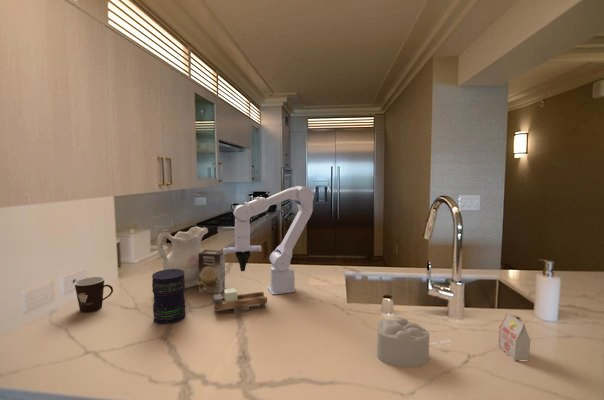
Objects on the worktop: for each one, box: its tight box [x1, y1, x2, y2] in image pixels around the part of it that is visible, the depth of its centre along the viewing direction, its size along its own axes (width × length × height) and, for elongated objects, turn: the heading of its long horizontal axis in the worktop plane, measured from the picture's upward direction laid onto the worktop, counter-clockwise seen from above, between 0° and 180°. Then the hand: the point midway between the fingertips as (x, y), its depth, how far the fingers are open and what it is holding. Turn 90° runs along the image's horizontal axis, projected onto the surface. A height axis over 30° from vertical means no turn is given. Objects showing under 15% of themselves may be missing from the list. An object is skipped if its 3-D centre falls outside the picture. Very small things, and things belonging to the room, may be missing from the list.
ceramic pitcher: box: [156, 226, 209, 289], centre depth 133 cm, size 22×20×25 cm
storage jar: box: [151, 269, 186, 326], centre depth 102 cm, size 10×10×15 cm
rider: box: [223, 287, 238, 302], centre depth 108 cm, size 4×4×4 cm
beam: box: [212, 291, 268, 314], centre depth 110 cm, size 18×6×5 cm, turn 111°
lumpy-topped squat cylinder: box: [376, 317, 430, 368], centre depth 83 cm, size 10×13×9 cm
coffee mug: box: [74, 276, 114, 314], centre depth 108 cm, size 12×9×10 cm
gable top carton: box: [497, 312, 531, 361], centre depth 84 cm, size 4×7×10 cm, turn 179°
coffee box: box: [198, 249, 226, 295], centre depth 126 cm, size 9×6×16 cm
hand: (242, 270), depth 121 cm, fingers closed
